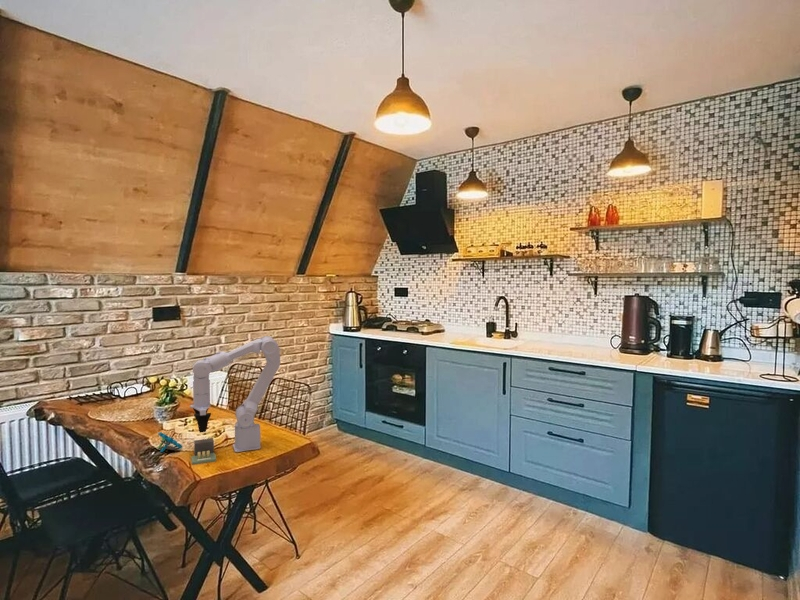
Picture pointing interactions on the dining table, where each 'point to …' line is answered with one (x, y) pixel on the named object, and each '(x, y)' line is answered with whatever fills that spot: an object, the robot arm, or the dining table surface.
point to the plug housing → (203, 446)
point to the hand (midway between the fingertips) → (202, 428)
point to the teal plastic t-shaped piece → (167, 442)
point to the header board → (203, 458)
